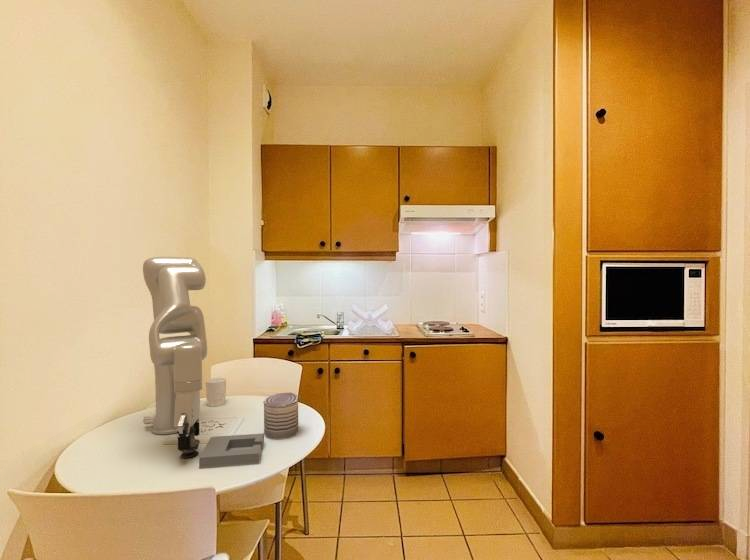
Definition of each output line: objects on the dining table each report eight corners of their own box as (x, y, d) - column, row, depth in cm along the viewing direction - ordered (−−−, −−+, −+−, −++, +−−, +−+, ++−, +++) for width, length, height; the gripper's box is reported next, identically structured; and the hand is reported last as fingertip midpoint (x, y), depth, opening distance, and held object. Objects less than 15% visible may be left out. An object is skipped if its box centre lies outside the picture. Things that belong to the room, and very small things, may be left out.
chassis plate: (199, 468, 112) (199, 457, 112) (211, 446, 125) (210, 436, 125) (258, 463, 114) (258, 453, 114) (264, 442, 128) (263, 433, 128)
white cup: (230, 404, 165) (229, 379, 165) (211, 408, 159) (210, 383, 159) (221, 399, 170) (220, 376, 170) (202, 404, 165) (202, 380, 164)
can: (305, 432, 137) (305, 397, 136) (277, 443, 128) (277, 405, 127) (284, 423, 144) (284, 390, 144) (257, 433, 135) (256, 398, 135)
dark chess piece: (177, 461, 116) (177, 420, 115) (178, 452, 121) (178, 413, 121) (200, 457, 118) (199, 417, 118) (200, 449, 124) (199, 410, 123)
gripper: (183, 377, 127) (184, 431, 127) (164, 394, 110) (165, 456, 110) (208, 376, 128) (209, 430, 129) (193, 393, 111) (194, 454, 112)
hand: (189, 442), depth 120 cm, fingers open, 9 cm apart
